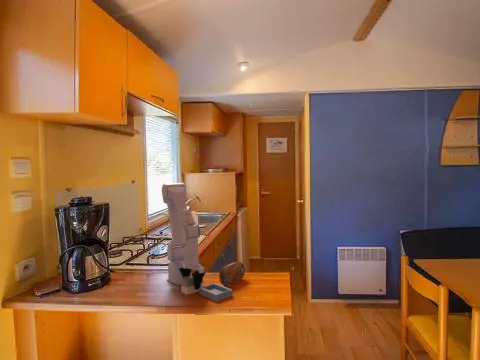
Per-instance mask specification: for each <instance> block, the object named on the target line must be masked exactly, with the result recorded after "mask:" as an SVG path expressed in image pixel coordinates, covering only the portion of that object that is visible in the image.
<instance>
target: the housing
mask: <svg viewBox="0 0 480 360" xmlns="http://www.w3.org/2000/svg"><path fill="white" fill-rule="evenodd" d="M180 286H181V288H180V289H181V293H182V294H184V295H187V296H188V295H191V294H194V293H196V292H197V293H198V292H199V289H197V290H195V287H194V280H193V277H192V275H190V276H186V277H182V278H181V284H180ZM201 287H204V278H203V279H202V283H201Z"/></svg>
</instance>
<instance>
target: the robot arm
mask: <svg viewBox="0 0 480 360" xmlns="http://www.w3.org/2000/svg"><path fill="white" fill-rule="evenodd" d="M186 194H187V186H186V184H185V183H184V182H176V183H175V182H174V183H165V182H164V183H163V184H162V186H161V196H162V203H164V204H165V205H167V210H168V219H169V225H170V231H171V232H170V233H171V241H170V242H169V243H168V244H167V253H166V254H167V259H168V261H169V262H168V266H167V272H168V273H167V274H168V275H167V277H168V278H166V281H168V282H170V283H172V284H175V285H178V286H179V285H181V278H182V277H186V276H190V275H192V277H193V280H194V287H195V290H197V289H199V288H200V287H201V283H202V279H203V280H204V277H205V275H206V271H205V267H203V266H202V265H201V264H200V263H199V260H200V258H199V238H200V237H201V228H200V224H198V223H197V222H196V221H195V219H194V216H193V213H192V211H191V210H190V209H188V206H187V203H186ZM192 271H194V272H192Z"/></svg>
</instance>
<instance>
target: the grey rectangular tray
mask: <svg viewBox="0 0 480 360" xmlns="http://www.w3.org/2000/svg"><path fill="white" fill-rule="evenodd" d="M198 292H199V295H201V296H203V297H205V298H207V299H210V300H212V301H214V302H219V301H223V300H225V299H228V298H231V297H233V289H231V288H229V287H228V286H225V285H222V284H219V283H216V282H214V283H211V284H208V285H203V287H200V288H199V291H198Z"/></svg>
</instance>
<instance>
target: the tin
mask: <svg viewBox="0 0 480 360" xmlns="http://www.w3.org/2000/svg"><path fill="white" fill-rule="evenodd" d="M245 271H246V270H245V266H244V264H243V262H241V261H233V262H232V263H229V264H226V265H224V266H223V267H221V269H220V270H219V273H218V275H219V276H218V277H219V282H220V285H222V286H225V287H230V286H233V285H235V284H236V283H239V282H241V281H242V280H243V278H244V276H245Z"/></svg>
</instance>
